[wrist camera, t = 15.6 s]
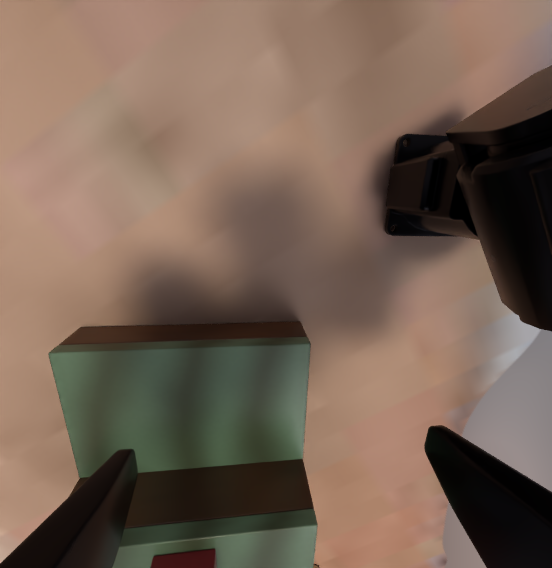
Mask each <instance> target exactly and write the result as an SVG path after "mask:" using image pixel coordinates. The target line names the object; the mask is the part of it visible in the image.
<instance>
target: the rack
mask: <svg viewBox="0 0 552 568" xmlns="http://www.w3.org/2000/svg"><path fill="white" fill-rule="evenodd" d="M310 345H311V344H310V342H309V339H308V337H307V335H306V333H305V331H304V329H303V326H302V324H301V322H263V323H226V324H189V325H152V326H115V327H81V328H79V329H78V330H77V331H75V332H74V333H73V334H72V335H70V336H69V337H68V338H67V339H65V340H64V341H63V342H62V343H61V344H59V345H58V346H57V347H55V348H54V349H53V350H52V351H51V352H49V358H50V362H51V366H52V370H53V374H54V378H55V382H56V386H57V390H58V394H59V398H60V402H61V406H62V410H63V414H64V418H65V422H66V426H67V430H68V434H69V438H70V442H71V446H72V450H73V454H74V458H75V461H76V465H77V469H78V473H79V477H80V479H79V480H78V482H77V484H76V486H75V487H74V489H73V491H72V493H71V494H70V496H71V495H72V494H73V493H74V492H75V491H76V490H77V489H78V488H79V487H80V486H81V485H82V484H83V483H84V482H85V481H86V480H87V479H88V478H89V477H90V476H91V475H92V474H93V473H94V472H95V471H96V470H97V469H98V468H99V467H100V466H102V465H103V464H104V463H105V462H106V461H107V460H108V459H109V458H110V457H111V456H112V455H113V454H114V453H115V452H116V451H118V450H120V449H134V451H135V456H136V462H137V468H138V476H137V481H136V485H135V489H134V493H133V497H132V501H131V505H130V509H129V512H128V516H127V520H126V524H125V528H124V532H123V536H122V539H121V543H120V546H119V549H118V552H117V556H116V559H115V561H114V564H113V567H112V568H150V567H151V563H152V559H153V556H157V555H166V554H174V553H183V552H191V551H199V550H208V549H215V550H216V564H217V568H313V565H314V555H315V545H316V534H317V520H316V516H315V511H314V507H313V502H312V498H311V494H310V489H309V485H308V480H307V476H306V472H305V467H304V463H303V447H304V433H305V418H306V403H307V389H308V374H309V360H310ZM70 496H69V497H70Z"/></svg>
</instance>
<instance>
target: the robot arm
mask: <svg viewBox="0 0 552 568" xmlns="http://www.w3.org/2000/svg"><path fill="white" fill-rule="evenodd" d="M446 134H447V136H437V135H419V134H405V135H403V136H401V137H399V139H398V140H397V144H396V151H395V158H394V165H393V166H392V167H391V170H390V178H389V185H388V192H387V200H386V206H387V216H386V223H385V232H386V233H387V234H388V235H392V236H460V237H466V238H471V239H476V240H480V243H481V245H482V248H483V251H484V254H485V257H486V259H487V262H488V265H489V268H490V270H491V273H492V276H493V279H494V281H495V284H496V287H497V290H498V292H499V295H500V298H501V301H502V303H503V304H505V305H506V306H507V307H508V308H509V309H510V310H512V311H513V312H514V313H515V314H517V315H519V317H520V320H521V321H522V322H524V323H526V324H529V325H532V326H534V327H537V328H539V329H544V330H549V331H552V65H551V66H549V67H547V68H545V69H543V70H541V71H539V72H537V73H535V74H533V75H531V76H530V77H528V78H527V79H525V80H524V81H522V82H521V83H519V84H518V85H516V86H515V87H513V88H512V89H510V90H508V91H507V92H505V93H504V94H502V95H501V96H499V97H498V98H496V99H495V100H493V101H492V102H490V103H489V104H487V105H486V106H484V107H483V108H481V109H479V110H478V111H476V112H475V113H473V114H472V115H470V116H469V117H467V118H466V119H464V120H463V121H461V122H460V123H458V124H457V125H455V126H453V127H452V128H450V129H449V130H447V131H446ZM404 140H406V141H407V146H406V147H405V146H404V145H403V142H404ZM393 225H394V226H395V229H394V230H393V231H391V227H392V226H393ZM425 452H426V455H427V457H428V459H429V461H430V463H431V465H432V468H433V470H434V472H435V474H436V476H437V478H438V480H439V482H440V484H441V486H442V488H443V490H444V492H445V495H446V497H447V499H448V501H449V503H450V504H451V506H452V508H453V510H454V512H455V514H456V515H457V517H458V519H459V520H460V522H461V524H462V526H463V528H464V529H465V531H466V533H467V535H468V536H469V538H470V539H471V541H472V543H473V545H474V546H475V548H476V550H477V552H478V553H479V555H480V557H481V558H482V560H483V562H484V563H485V565H486V567H487V568H552V492H551V491H549V490H547V489H546V488H544V487H543V486H541V485H539V484H538V483H536V482H534V481H533V480H531V479H530V478H528V477H526V476H525V475H523V474H521V473H520V472H518V471H517V470H515V469H513V468H511V467H510V466H508V465H507V464H505V463H503V462H502V461H500V460H499V459H497V458H495V457H494V456H492V455H491V454H489V453H487V452H486V451H484V450H482V449H481V448H479V447H478V446H476V445H474V444H472V443H471V442H469V441H468V440H466V439H464V438H463V437H461V436H460V435H458V434H456V433H455V432H453V431H451V430H450V429H448V428H447V427H445V426H442V425H438V426H430V427H429V429H428V433H427V437H426V441H425ZM137 476H138V468H137V462H136V456H135V451H134V449H120V450H118V451H116V452H115V453H114V454H113V455H112V456H111V457H110V458H109V459H108V460H107V461H106V462H105V463H104V464H103V465H102V466H100V467H99V468H98V469H97V470H96V471H95V472H94V473H93V474H92V475H91V476H90V477H89V478H88V479H87V480H86V481H85V482H84V483H83V484H82V485H81V486H80V487H79V488H78V489H77V490H76V491H75V492H74V493H73V494H72V495H71V496H70V497H69V498H67V499H66V500H65V501H64V502H63V503H62V504H61V505H60V506H59V507H58V508H57V509H56V510H55V511H54V512H53V513H52V514H51V515H50V516H49V517H48V518H47V519H46V520H45V521H44V522H43V523H42V524H41V525H40V526H39V527H38V528H37V529H36V530H35V531H33V532H32V533H31V534H30V535H29V536H28V537H27V538H26V539H25V540H24V541H23V542H22V543H21V544H20V545H19V546H18V547H17V548H16V549H15V550H14V551H13V552H12V553H11V554H10V555H9V556H8V557H7V558H6V559H5V560H4V561H3V562H2V563H0V568H112V567H113V564H114V561H115V559H116V556H117V552H118V549H119V546H120V543H121V539H122V536H123V532H124V528H125V524H126V520H127V516H128V512H129V509H130V505H131V501H132V497H133V493H134V489H135V485H136V481H137Z"/></svg>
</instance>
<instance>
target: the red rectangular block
mask: <svg viewBox="0 0 552 568" xmlns="http://www.w3.org/2000/svg"><path fill="white" fill-rule="evenodd" d="M150 568H217V564H216V550H215V549H208V550H199V551H191V552H183V553H174V554H166V555H157V556H153V559H152V563H151V567H150Z"/></svg>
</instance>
